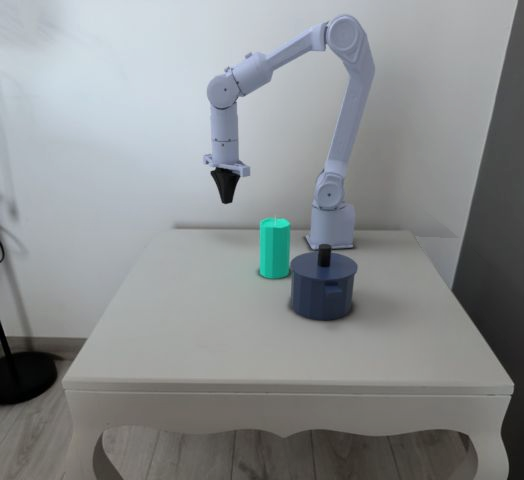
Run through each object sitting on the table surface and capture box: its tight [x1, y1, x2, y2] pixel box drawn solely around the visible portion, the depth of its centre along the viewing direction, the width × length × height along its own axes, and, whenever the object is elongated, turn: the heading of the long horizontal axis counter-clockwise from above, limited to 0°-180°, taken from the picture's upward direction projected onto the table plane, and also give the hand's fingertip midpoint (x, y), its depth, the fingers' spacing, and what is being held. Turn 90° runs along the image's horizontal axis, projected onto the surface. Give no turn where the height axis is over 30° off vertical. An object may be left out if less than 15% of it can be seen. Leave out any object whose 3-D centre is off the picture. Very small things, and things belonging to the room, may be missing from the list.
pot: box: [290, 270, 356, 321], centre depth 91 cm, size 11×16×8 cm
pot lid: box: [289, 244, 359, 282], centre depth 88 cm, size 12×12×4 cm
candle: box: [259, 214, 292, 280], centre depth 101 cm, size 6×6×12 cm
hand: (227, 202), depth 115 cm, fingers closed
